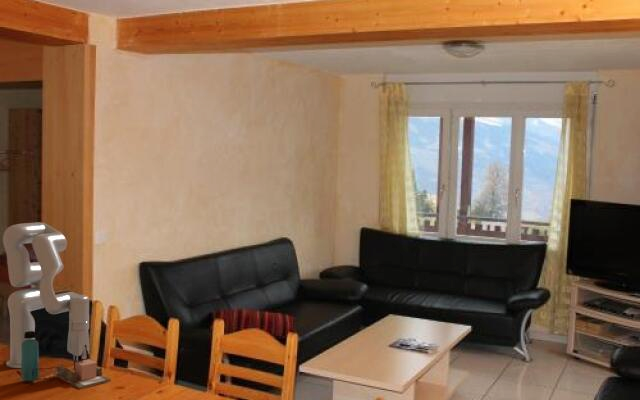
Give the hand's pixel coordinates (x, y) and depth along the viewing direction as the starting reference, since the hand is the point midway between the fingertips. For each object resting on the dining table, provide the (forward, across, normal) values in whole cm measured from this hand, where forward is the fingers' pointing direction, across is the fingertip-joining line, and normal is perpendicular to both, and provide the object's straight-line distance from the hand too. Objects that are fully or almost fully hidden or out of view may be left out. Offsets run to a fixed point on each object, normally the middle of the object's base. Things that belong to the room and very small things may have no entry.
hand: (78, 370), depth 271 cm
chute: (+3, +4, 0) cm, 5 cm away
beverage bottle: (+3, -6, -17) cm, 18 cm away
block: (+1, +6, 0) cm, 6 cm away
